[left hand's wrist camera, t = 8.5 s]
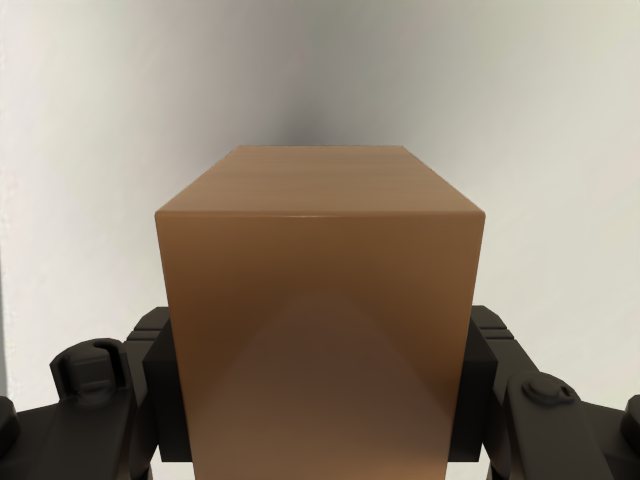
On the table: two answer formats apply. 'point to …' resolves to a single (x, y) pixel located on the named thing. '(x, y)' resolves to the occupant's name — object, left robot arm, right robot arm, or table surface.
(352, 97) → the table surface
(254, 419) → the bar
